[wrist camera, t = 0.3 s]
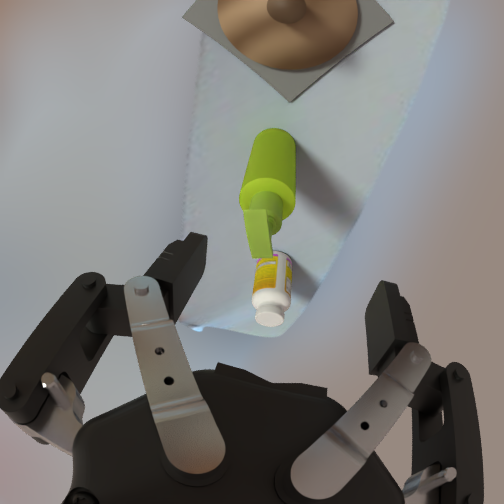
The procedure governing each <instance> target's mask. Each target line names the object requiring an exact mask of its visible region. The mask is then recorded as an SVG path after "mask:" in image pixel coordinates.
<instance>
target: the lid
mask: <svg viewBox="0 0 504 504" xmlns="http://www.w3.org/2000/svg"><path fill="white" fill-rule="evenodd" d="M217 9H218V18H219V22H220V25H221V28H222V30H223V32H224V34H225V35H226V37H227V38H228V40H229V41H230V42H231V44H232V45H233V46H234V47H235V48H236V49H237V50H238V51H240V52H241V53H242V54H243V55H245V56H246V57H248V58H250V59H251V60H253V61H255V62H257V63H260V64H262V65H265V66H269V67H272V68H278V69H287V70H296V69H305V68H310V67H314V66H317V65H320V64H322V63H324V62H326V61H328V60H330V59H332V58H333V57H335V56H336V55H337V54H339V53H340V52H341V51H342V50H343V49H344V48H345V47H346V45H347V44H348V43H349V41H350V40H351V38H352V36H353V34H354V32H355V29H356V25H357V19H358V9H357V3H356V0H218V4H217Z"/></svg>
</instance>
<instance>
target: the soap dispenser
mask: <svg viewBox="0 0 504 504" xmlns="http://www.w3.org/2000/svg"><path fill="white" fill-rule="evenodd" d="M295 194H296V145H295V142H294V139H293V138H292V136H291V135H290V134H289V133H287V132H286V131H284V130H281V129H277V128H271V129H266V130H264V131H262V132H261V133H259V134H258V135H257V137H256V138H255V140H254V144H253V147H252V151H251V155H250V158H249V162H248V165H247V169H246V173H245V176H244V180H243V184H242V188H241V191H240V195H239V203H240V206H241V208H242V210H243V213H244V221H245V228H246V233H247V238H248V243H249V247H250V251H251V255H252V258H273V249H272V243H271V237H272V235H274V234H276V233H277V232H278V231H279V230H280V228H281V226H282V220H284V219H286V218H287V217H288V216H289V215H290V214H291V213H292V212H293V210H294V207H295Z"/></svg>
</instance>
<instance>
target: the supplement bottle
mask: <svg viewBox="0 0 504 504" xmlns="http://www.w3.org/2000/svg"><path fill="white" fill-rule="evenodd" d="M291 285H292V261H291V259H290V257H289V256H288V255H286V254H285V253H282V252H279V251H273V258H258V260H257V266H256V273H255V280H254V288H253V295H252V304H253V306H254V308H255V309H256V310H257V311H256V316H255V319H256V321H257V322H258V323H259V324H261V325H264V326H269V327H274V326H279V325H281V324H282V323H283V321H284V312H285V311H286V310H288V308H289V307H290V304H291Z"/></svg>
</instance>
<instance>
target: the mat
mask: <svg viewBox="0 0 504 504" xmlns="http://www.w3.org/2000/svg"><path fill="white" fill-rule="evenodd" d="M356 3H357V9H358V19H357V25H356V29H355V32H354V34H353V36H352V38H351V40H350V41H349V43H348V44H347V45H346V47H345V48H344V49H343V50H342V51H341V52H340V53H339V54H337V55H336V56H335V57H333V58H332V59H330V60H328V61H326V62H324V63H322V64H320V65H317V66H314V67H310V68H305V69H296V70H287V69H278V68H272V67H269V66H265V65H262V64H260V63H257V62H255V61H253V60H251V59H250V58H248V57H246V56H245V55H243V54H242V53H241V52H240V51H238V50H237V49H236V48H235V47H234V46H233V45H232V44H231V42H230V41H229V40H228V38H227V37H226V35H225V34H224V32H223V30H222V28H221V25H220V22H219V18H218V9H217V4H218V0H196V1H195V3H194V4H193V5H192V6H191V7H190V8H189V9H188V11H187V12H186V13H185V14H184V15H183V17H182V18H183V19H185V20H186V21H188V22H190V23H191V24H193V25H194V26H195V27H197V28H198V29H200V30H201V31H202V32H204V33H205V34H207V35H208V36H209V37H211V38H212V39H214V40H215V41H216V42H218V43H219V44H220V45H222V46H223V47H224V48H226V49H227V50H228V51H229V52H231V53H232V54H233V55H235V56H236V57H237V58H238V59H240V60H241V61H242V62H243V63H245V64H246V65H247V66H248V67H250V68H251V69H252V70H253V71H254V72H256V73H257V74H258V75H259V76H260V77H262V78H263V79H264V80H265V81H266V82H267V83H268V84H270V85H271V86H272V87H273V88H274V89H275V90H276V91H278V92H279V93H280V94H281V95H282V96H283V97H284V98H285V99H286V100H287V101H289V102H291V101H292V100H293V99H294V98H295V97H297V96H298V95H299V94H300V93H301V92H302V91H304V90H305V89H306V88H307V87H308V86H310V85H311V84H312V83H313V82H314V81H316V80H317V79H318V78H319V77H320V76H322V75H323V74H324V73H325V72H327V71H328V70H329V69H330V68H332V67H333V66H334V65H335V64H337V63H338V62H339V61H340V60H342V59H343V58H344V57H346V56H347V55H348V54H349V53H351V52H352V51H353V50H355V49H356V48H357V47H359V46H360V45H361V44H363V43H364V42H365V41H367V40H368V39H370V38H371V37H372V36H374V35H375V34H376V33H378V32H379V31H381V30H382V29H383V28H385V27H386V26H388V25H389V24H391V23H392V22H394V21H393V20H392V18H391V17H390V16H389V15H388V14H387V13H386V11H385V10H384V9H383V8H382V7H381V6H380V5H379V4H378V3H377V2H376V0H356Z"/></svg>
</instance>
